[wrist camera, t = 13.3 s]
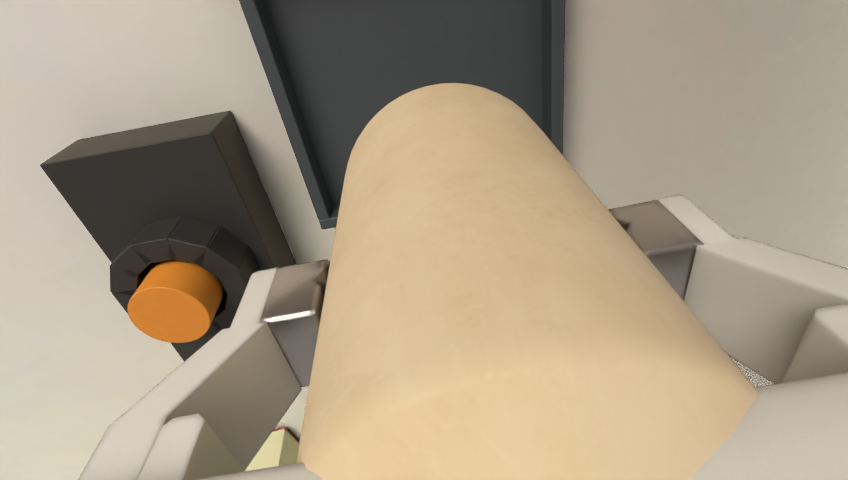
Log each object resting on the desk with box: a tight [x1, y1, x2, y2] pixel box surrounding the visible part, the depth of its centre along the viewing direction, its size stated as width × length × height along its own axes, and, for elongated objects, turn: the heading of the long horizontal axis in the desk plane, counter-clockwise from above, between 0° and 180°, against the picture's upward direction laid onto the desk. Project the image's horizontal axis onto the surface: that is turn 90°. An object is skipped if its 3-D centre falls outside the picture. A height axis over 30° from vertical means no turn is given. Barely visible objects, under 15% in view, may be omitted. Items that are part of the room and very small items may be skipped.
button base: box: [40, 111, 296, 362], centre depth 24 cm, size 14×8×5 cm, turn 9°
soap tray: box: [239, 0, 565, 229], centre depth 21 cm, size 13×13×2 cm
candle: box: [296, 83, 759, 480], centre depth 8 cm, size 6×6×10 cm
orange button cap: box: [128, 260, 223, 343], centre depth 21 cm, size 4×4×2 cm
